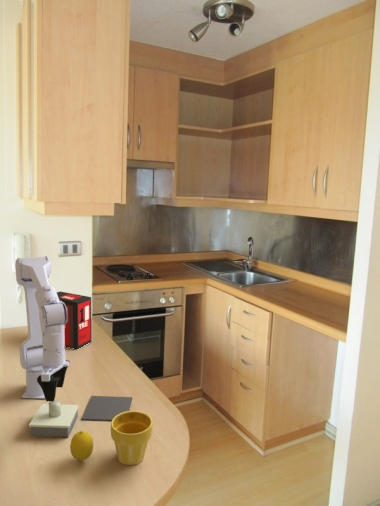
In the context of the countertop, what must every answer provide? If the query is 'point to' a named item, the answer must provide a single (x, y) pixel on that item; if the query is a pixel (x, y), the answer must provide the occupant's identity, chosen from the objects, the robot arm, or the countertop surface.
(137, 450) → the plant pot
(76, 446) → the lemon
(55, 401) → the lid
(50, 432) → the storage box
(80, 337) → the cleaning product box
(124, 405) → the mat
